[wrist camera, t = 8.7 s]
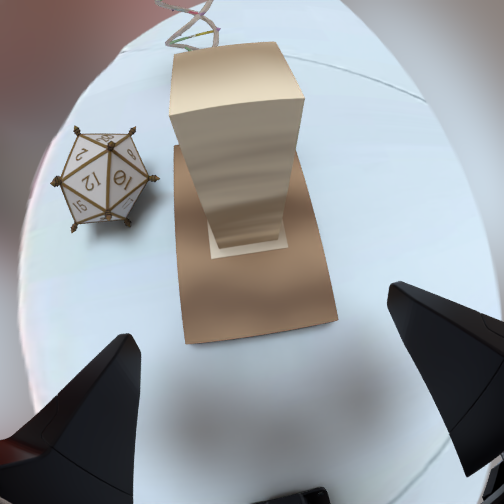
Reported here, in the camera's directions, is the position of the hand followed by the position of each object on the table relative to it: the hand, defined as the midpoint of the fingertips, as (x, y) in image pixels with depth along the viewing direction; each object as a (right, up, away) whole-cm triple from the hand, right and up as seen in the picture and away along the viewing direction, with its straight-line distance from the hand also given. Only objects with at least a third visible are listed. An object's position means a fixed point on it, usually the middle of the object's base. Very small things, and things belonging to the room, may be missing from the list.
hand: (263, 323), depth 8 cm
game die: (-12, +7, +14) cm, 20 cm away
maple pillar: (-1, +5, +11) cm, 12 cm away
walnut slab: (-1, +4, +13) cm, 13 cm away
